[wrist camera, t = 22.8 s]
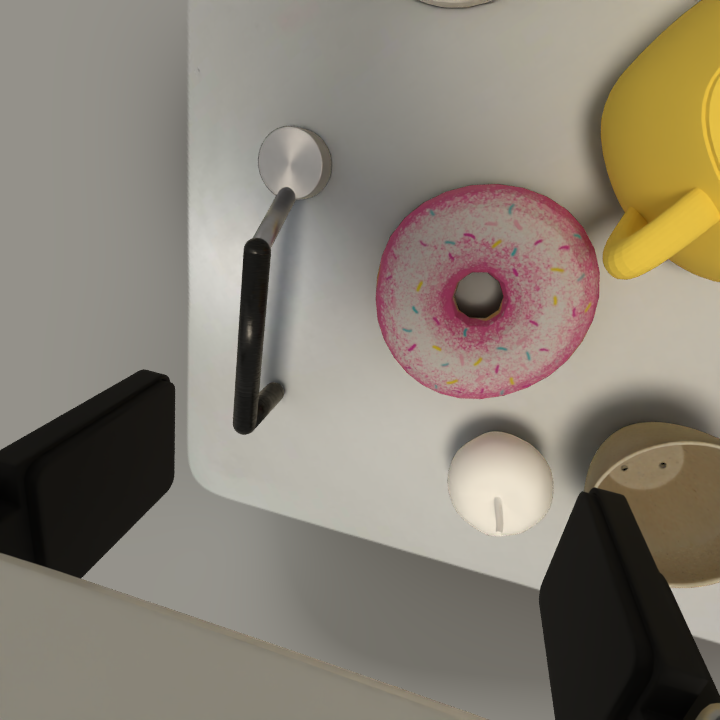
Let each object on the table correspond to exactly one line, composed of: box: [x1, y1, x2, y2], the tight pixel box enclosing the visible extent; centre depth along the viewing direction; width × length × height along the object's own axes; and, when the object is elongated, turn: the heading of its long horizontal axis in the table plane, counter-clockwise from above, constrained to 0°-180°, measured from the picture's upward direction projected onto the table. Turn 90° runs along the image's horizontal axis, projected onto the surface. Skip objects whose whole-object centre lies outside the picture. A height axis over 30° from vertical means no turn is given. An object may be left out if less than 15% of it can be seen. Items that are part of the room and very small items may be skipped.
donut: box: [376, 184, 600, 399], centre depth 30 cm, size 14×13×5 cm
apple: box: [447, 431, 553, 536], centre depth 33 cm, size 7×7×8 cm
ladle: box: [233, 126, 332, 435], centre depth 32 cm, size 20×4×7 cm, turn 171°
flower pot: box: [584, 422, 720, 588], centre depth 31 cm, size 10×10×7 cm
